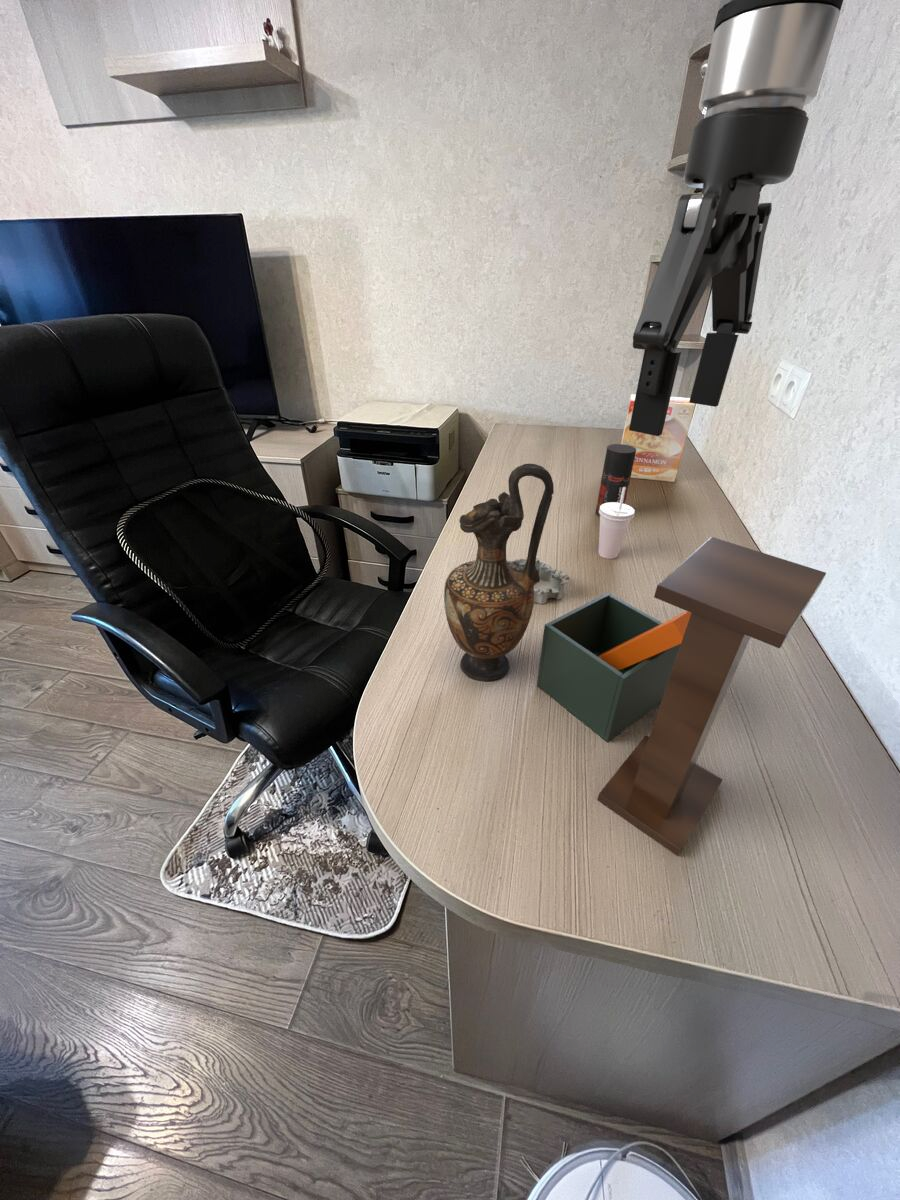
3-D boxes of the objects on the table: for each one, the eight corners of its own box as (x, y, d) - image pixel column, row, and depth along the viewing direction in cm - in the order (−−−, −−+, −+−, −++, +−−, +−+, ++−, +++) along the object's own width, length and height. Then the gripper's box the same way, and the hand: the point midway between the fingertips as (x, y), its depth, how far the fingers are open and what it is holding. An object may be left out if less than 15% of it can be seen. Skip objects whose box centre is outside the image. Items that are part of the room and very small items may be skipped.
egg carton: (569, 598, 86) (573, 578, 84) (531, 608, 84) (533, 587, 82) (538, 568, 94) (540, 549, 92) (502, 576, 92) (504, 557, 90)
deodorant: (605, 506, 117) (618, 442, 109) (627, 514, 114) (642, 448, 105) (590, 513, 114) (601, 447, 106) (612, 521, 110) (625, 455, 102)
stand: (643, 741, 61) (711, 536, 45) (719, 786, 56) (826, 572, 40) (597, 800, 54) (657, 584, 38) (678, 856, 49) (786, 635, 33)
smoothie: (611, 565, 95) (626, 496, 87) (584, 553, 99) (596, 485, 91) (631, 555, 98) (647, 487, 90) (604, 543, 102) (617, 477, 94)
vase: (451, 636, 78) (452, 443, 60) (532, 645, 76) (556, 449, 59) (438, 690, 68) (434, 479, 51) (530, 701, 66) (557, 487, 49)
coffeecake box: (615, 476, 133) (630, 399, 121) (616, 467, 138) (630, 393, 127) (675, 482, 129) (696, 404, 118) (673, 473, 135) (693, 397, 123)
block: (580, 688, 67) (570, 671, 68) (598, 676, 69) (588, 660, 70) (685, 641, 53) (672, 621, 53) (704, 628, 55) (691, 608, 55)
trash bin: (666, 698, 67) (688, 637, 61) (607, 742, 61) (624, 679, 55) (595, 650, 75) (607, 592, 69) (536, 685, 69) (544, 624, 63)
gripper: (751, 142, 46) (689, 389, 58) (621, 90, 31) (573, 438, 43) (848, 131, 41) (759, 400, 53) (751, 63, 26) (658, 457, 39)
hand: (676, 417), depth 48 cm, fingers open, 13 cm apart
